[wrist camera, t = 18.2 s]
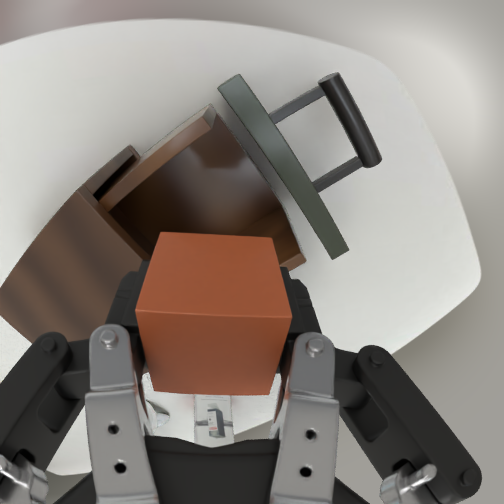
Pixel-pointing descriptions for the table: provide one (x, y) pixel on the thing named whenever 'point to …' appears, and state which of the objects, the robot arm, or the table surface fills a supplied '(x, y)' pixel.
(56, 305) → the cabinet
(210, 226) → the drawer
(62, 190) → the table surface
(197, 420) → the ink box
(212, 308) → the block
